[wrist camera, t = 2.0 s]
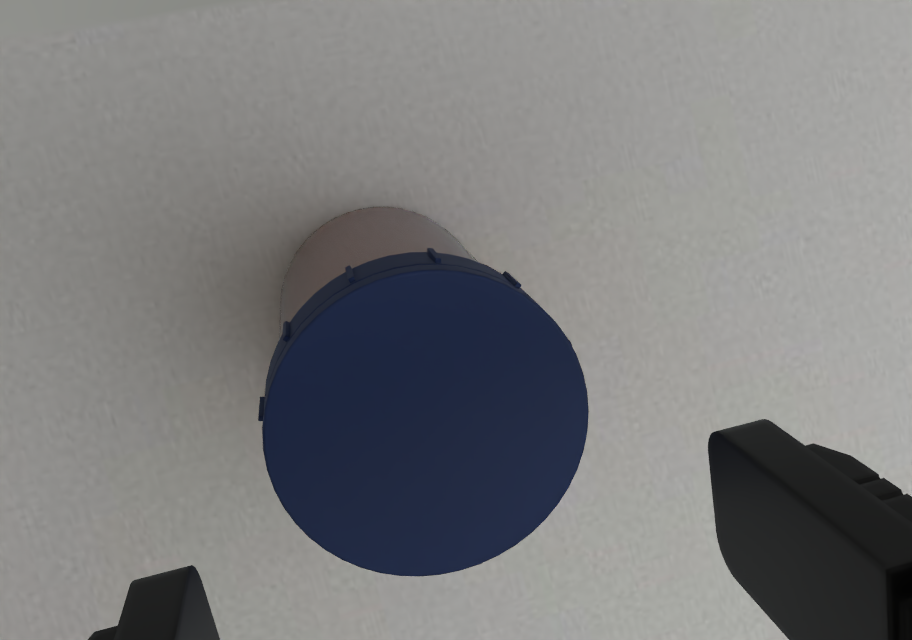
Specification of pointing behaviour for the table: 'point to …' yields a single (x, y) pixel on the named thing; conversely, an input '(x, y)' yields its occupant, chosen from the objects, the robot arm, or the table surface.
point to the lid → (422, 414)
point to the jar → (358, 249)
